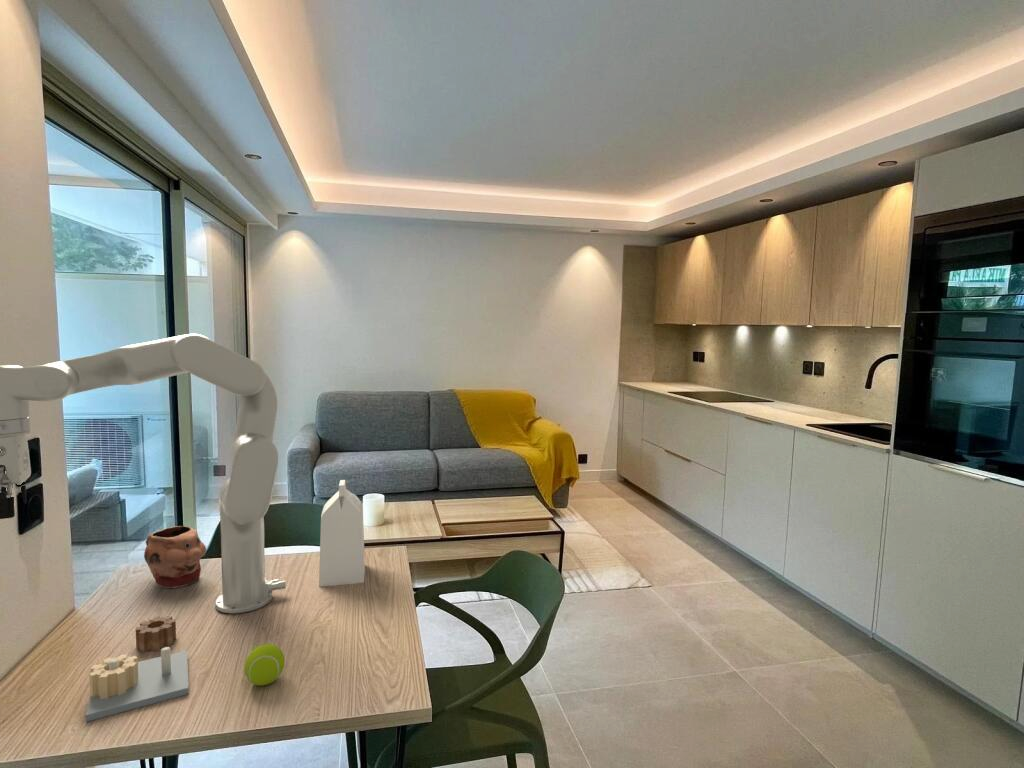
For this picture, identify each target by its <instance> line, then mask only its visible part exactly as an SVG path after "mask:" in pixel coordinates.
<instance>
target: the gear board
mask: <svg viewBox="0 0 1024 768" xmlns="http://www.w3.org/2000/svg"><path fill="white" fill-rule="evenodd" d="M138 660H139V659H138V657H137V656H136V655H133V656H129V654H126V653H125V654H120V655H119V656H115V657H111V656H110V657H107V658H104V659H102V662H100V663H99V664H94V665H93V666H92V667H90V673H89V691H90V692H89V699H88V704H87V709H86V713H85V722H87V723H88V722H90V721H91V722H92V721H94V720H98V719H102V718H106V717H108V716H113V715H116V714H117V715H118V714H120V713H124V712H126V711H131V710H133V709H139V708H141V707H142V708H143V707H146V706H149V705H152V704H156V703H160V702H163V701H168V700H170V699H171V700H172V699H175V698H178V697H182V696H186V695H189V694H190V693H189V689H190V688H189V671H188V670H189V665H188V662H189V661H188V650H183V651H177V652H174V653H171V647H169V646H164V647H162V648H160V656H158V657H154V658H150V659H146V660H141V661H138Z"/></svg>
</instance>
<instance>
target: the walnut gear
mask: <svg viewBox="0 0 1024 768" xmlns="http://www.w3.org/2000/svg"><path fill="white" fill-rule="evenodd" d="M176 627H177V626H176V619H175V618H174V619H173V616H169V615H167V616H165V617H160V616H156V617H152V619H149V620H143V621H142V622H140V623H139V626H137V627H135V644H136V645H135V648H136V649H138V651H139V652H142V653H143V652H144V653H145V652H146V651H152V652H156V651H161V649H162V648H165V647H169V646H171V645H172V644H174V643H173V641H176V640H177V628H176Z"/></svg>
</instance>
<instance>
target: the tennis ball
mask: <svg viewBox="0 0 1024 768" xmlns="http://www.w3.org/2000/svg"><path fill="white" fill-rule="evenodd" d="M285 659H286V658H285V654H284V652H283V650H282V649H281V648H280V647H279V646H277V645H276V644H272V643H265V644H261V645H259V646H256V647H255V648H253V649H252V651H251V652H249V654H248V655H247V657H246V660H245V661H244V665H243V666H244V675H245V677H246V679H247V680H248V682H250V683H251V684H253V685H255V686H266V685H270V684H272V683H273V682H275V681H276V680H277V679H278V678H279V677H280V676H281V674H282V673H283V671H284V668H285V663H286V660H285Z"/></svg>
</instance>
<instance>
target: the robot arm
mask: <svg viewBox="0 0 1024 768" xmlns="http://www.w3.org/2000/svg"><path fill="white" fill-rule="evenodd" d="M183 374H192V375H193V376H195V377H198V378H199V379H201V380H204V381H205V382H208V383H210V384H212V385H214V386H217V387H219V388H221V389H223V390H225V391H227V392H229V393H231V394H234V395H236V396H237V399H238V413H237V418H236V419H237V420H236V425H235V429H234V434H233V437H232V438H233V439H232V442H231V445H230V450H229V457H230V460H231V462H232V466H231V471H230V476H229V478H227V479H226V480H225V481H224V482H223V483H222V486H220V489H219V492H218V509H219V519H220V521H219V523H220V550H221V552H220V553H221V555H220V556H221V585H222V586H221V587H222V589H221V590H222V594H221V595H219V596H218V597H217V598H216V600H215V603H214V604H215V606H214V607H215V608H216V611H219V612H221V613H224V614H241V613H246V612H247V613H248V612H251V611H255V610H257V609H260V608H262V607H264V606H266V605H268V604H269V603H270V602H271V600H272V598H273V591H277V590H284V589H286V580H282V581H281V580H279V578H276V579H273V580H269V579H267V578H266V564H265V562H266V561H265V559H266V558H265V520H264V517H265V515H266V514H267V512H268V510H269V507H270V505H271V502H272V501H271V500H272V497H273V491H274V487H275V482H276V477H277V471H278V466H279V451H278V449H277V447H276V445H275V444H274V442H273V439H274V437H273V436H274V432H275V427H276V426H275V425H276V420H277V412H278V397H277V392H276V389H275V387H274V385H273V383H272V380H271V379H270V377H269V376H268V375H267V373H266V372H265V369H264V368H263V367H262V365H260V364H259V363H258V362H256V361H255V360H253V359H251V358H250V357H249V358H248V357H247V356H245V355H242V354H240V353H239V352H236V351H234V350H232V349H230V348H228V347H226V346H224V345H222V344H220V343H219V342H216V341H214V340H213V339H211V338H209V337H207V336H205V335H203V334H198V333H188V334H187V333H186V334H181V335H177V336H176V335H175V336H171V337H166V338H161V339H156V340H151V341H145V342H141V343H135V344H129V345H125V346H121V347H117V348H114V349H111V350H109V351H104V352H101V353H96V354H92V355H91V354H90V355H86V356H82V357H81V356H80V357H76V358H75V357H74V358H71V359H64V360H60V361H55V362H50V363H45V364H42V365H41V364H40V365H33V366H22V365H14V364H5V365H4V364H3V365H2V364H1V365H0V449H1V451H2V452H1V451H0V520H5V519H13V518H14V517H15V515H16V513H15V506H14V497H11V495H12V488H13V484H17V485H21V484H22V483H23V482H25V483H26V481H27V480H28V479H29V478H30V477H31V474H32V467H31V460H30V459H31V457H30V449H29V442H28V438H27V437H28V436H27V435H28V434H31V418H30V404H29V403H30V401H35V402H46V403H47V402H57V401H61V400H63V399H65V398H67V397H68V396H70V395H74V394H79V393H83V392H87V391H92V390H96V389H102V388H107V387H113V386H131V385H132V386H134V385H140V384H144V383H149V382H153V381H156V380H161V379H165V378H170V377H174V376H179V375H183ZM5 471H6V474H5ZM6 488H7V491H6ZM21 491H22V498H23V502H24V505H26V504H27V503H28V502H27V486H26V484H25V485H24V486H22V487H21Z"/></svg>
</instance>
